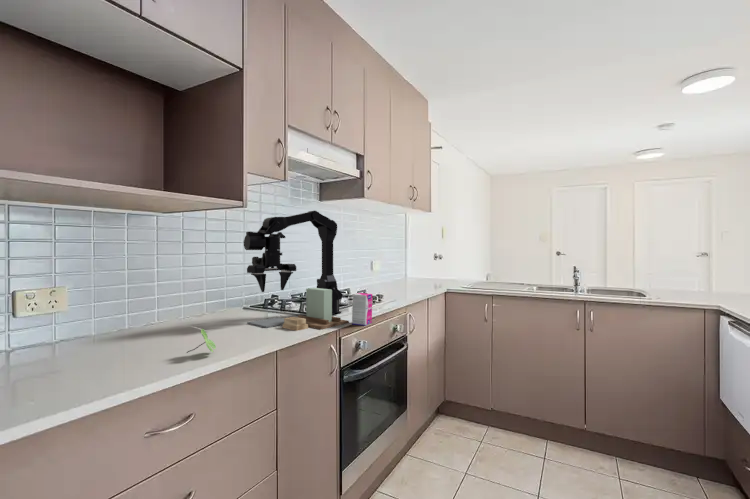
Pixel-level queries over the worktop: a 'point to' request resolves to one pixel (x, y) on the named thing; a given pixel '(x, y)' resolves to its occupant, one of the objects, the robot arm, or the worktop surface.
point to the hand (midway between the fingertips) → (272, 291)
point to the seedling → (206, 341)
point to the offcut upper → (295, 321)
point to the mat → (268, 322)
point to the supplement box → (362, 309)
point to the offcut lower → (295, 327)
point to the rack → (323, 322)
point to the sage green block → (319, 303)
